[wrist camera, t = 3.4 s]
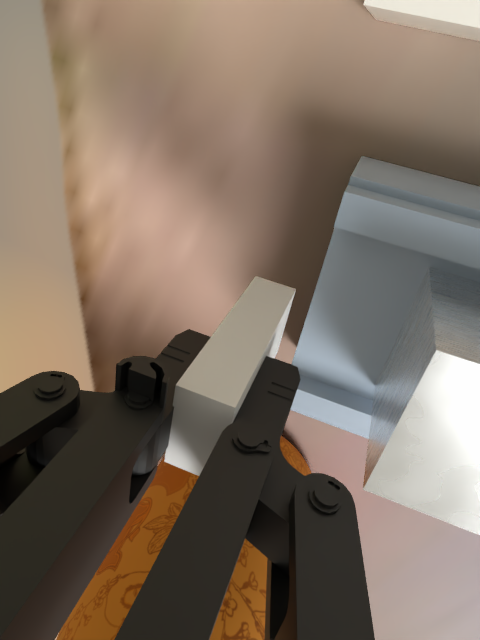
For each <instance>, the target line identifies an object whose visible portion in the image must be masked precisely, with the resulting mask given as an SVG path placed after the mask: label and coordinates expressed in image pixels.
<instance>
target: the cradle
mask: <svg viewBox="0 0 480 640" xmlns="http://www.w3.org/2000/svg"><path fill="white" fill-rule="evenodd" d="M363 5H364V6H365V7H366V9H367V10H368V11H369V12H370V14H371V15H372V16H373V17H374V18H375V20H378V21H383V22H388V23H393V24H398V25H403V26H407V27H412V28H417V29H422V30H427V31H431V32H436V33H441V34H446V35H451V36H456V37H460V38H465V39H470V40H475V41H480V0H365V1H364V4H363Z"/></svg>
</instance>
